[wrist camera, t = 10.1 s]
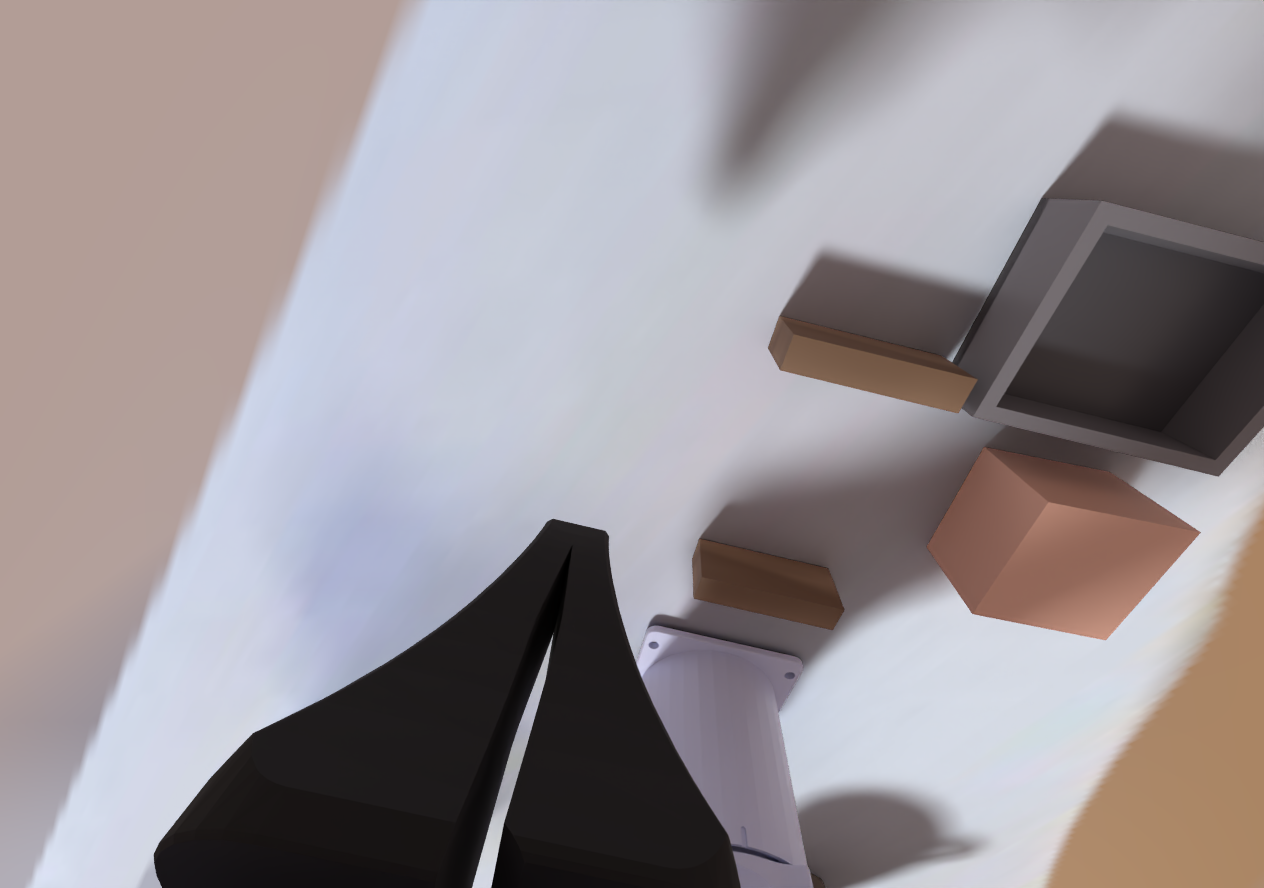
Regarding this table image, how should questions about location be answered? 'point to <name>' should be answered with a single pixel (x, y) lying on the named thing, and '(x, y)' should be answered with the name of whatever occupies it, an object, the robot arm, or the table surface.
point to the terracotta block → (1054, 543)
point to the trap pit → (1124, 335)
